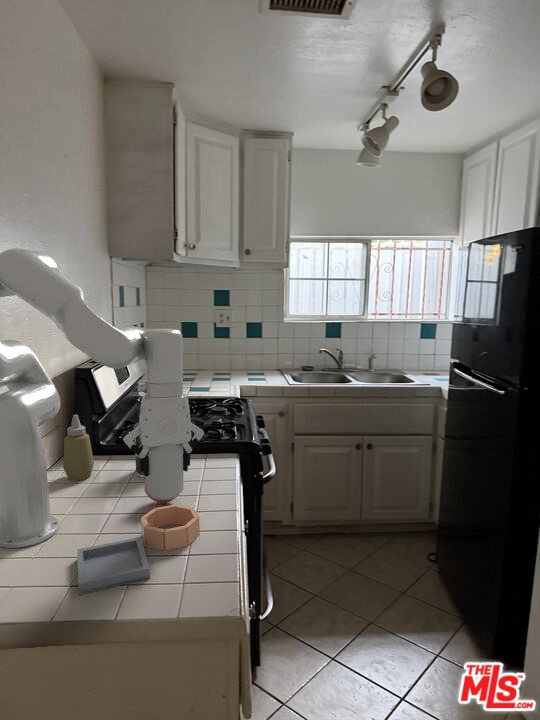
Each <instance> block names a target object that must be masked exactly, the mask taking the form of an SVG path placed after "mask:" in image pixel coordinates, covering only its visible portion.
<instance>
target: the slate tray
mask: <svg viewBox="0 0 540 720" xmlns="http://www.w3.org/2000/svg"><path fill="white" fill-rule="evenodd" d="M144 547H145V546H144V543H143V539H142V536H140V537H133V538H129V539H124V540H123V539H122V540H118V541H113V542H109V543H104V544H103V543H102V544H98V545H93V546H88V547H84V548H83V547H82V548H77V550H76V551H77V583H78V595H79V596H80V595H86V594H89V593H93V592H98V591H102V590H107V589H111V588H115V587H119V586H123V585H124V586H125V585H128V584H132V583H136V582H140V581H141V582H142V581H145V580H149V579H151V574H150V565H149V562H148V558H147V555H146V551H145V548H144Z"/></svg>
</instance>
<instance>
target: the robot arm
mask: <svg viewBox="0 0 540 720" xmlns="http://www.w3.org/2000/svg"><path fill="white" fill-rule="evenodd" d="M12 296H16V297H18V298H19V299H21V300H22V301H24V302H26V303H27V304H29V305H30V306H31V307H33V308H34V309H35V310H38V311H39V312H40V313H41V314H42V315H44V316H46V317H47V318H48V319H50V320H51V321H53V322H54V324H55V326H56V327H57V329H58V330H59V332H60V333H62V335H63V336H64V338H65V339H66V340H67V341H68V342H70V344H71V345H73V347H75V348H76V349H77V350H79V351H80V352H82V353H83V354H85V355H86V356H88V357H89V358H90V359H92V360H94V361H95V362H97V363H99V364H100V365H101V366H104V367H107V368H109V369H115V370H117V369H123V368H126V367H129V366H130V365H132V364H135V363H138V362H142V361H143V362H144V382H143V384H138V385H137V392H138V393H143V394H145V395H143V396H142V397H141V402H140V409H139V418H138V419H139V426H138V427H136V428H135V429H132V430H131V431H130V432H129V433H127V434H126V435H125V436H123V441H124V443H125V445H127V446H128V448H129V449H130V450H131V451H132V452H133V453H134V454H135V453H136V454H137V455H138V456H139V457H140V472H143V474H144V476H145V477H147V476H148V457H147V452H148V451H149V449H150V447H159V446H161V445H162V444H171V443H173V444H174V445H180V444H182V445H183V472H186V473H187V472H188V470H189V467H190V466H191V453H192V451H193V449H195V447H196V446H197V445H198V444H199V442H200V440H201V439H202V437H203V436H204V435H205V432H204V430H203V429H201V428H200V427H198V426H197V425H196V424H194V423H192V421H191V414H190V413H191V411H190V405H189V398H188V395H187V394H185V393H184V381H183V380H184V367H183V366H184V356H183V355H184V353H183V351H184V349H183V347H184V345H183V344H184V343H183V334H182V332H181V331H180V330H179V329H176V328H145V327H139V326H134V325H133V326H131V325H130V326H129V325H128V326H124V327H123V326H122V327H119V328H117V327H115V326H113V325H112V324H110V323H109V322H108V321H106V320H104V319H103V318H102V317H101V316H99V315H97V313H95V312H94V311H93V310H92V309H91V308H90V307H89V306H88V304H87V302H86V301H85V299H84V297H85V295H84V291H83V289H82V288H81V287H80V286H79V285H77V284H76V283H74V282H73V281H72V280H70V279H69V278H67V277H66V276H64V275H63V274H61V273H60V271H59V268H58V265H57V263H56V261H55V260H54V259H53V258H52V257H51V256H49V255H48V254H46V253H45V252H42V251H37V250H31V249H25V248H9V249H5V250H4V251H2V252H0V298H6V297H12ZM5 386H6V388H7V389H8V390H7V391H4V392H2V393H0V548H6V549H17V548H24V547H29V546H33V545H36V544H39V543H42V542H44V541H46V540H48V539H49V538H51V537H53V535H55V534H56V533H57V532H58V530H59V528H60V522H59V520H58V518H56V517H55V516H53V515H51V509H50V507H51V506H50V496H49V495H50V493H49V484H48V481H49V480H48V471H47V470H48V468H47V460H46V459H47V457H46V450H45V445H44V442H43V439H42V437H41V435H40V432H39V427H41V426H42V425H44V424H47V423H48V422H49V421H52V419H54V417H56V416H57V415H58V413H59V411H60V408H61V397H60V394H59V392H58V389H57V388H56V386H55V383H53V381H52V379H51V377H50V376H49V374H48V372H47V370H46V369H45V368H44V366H43V363H42V362H41V361H40V359H39V357H38V356H37V354H36V353H35V352H34V350H33V349H32V348H31V347H30V346H29V345H28V344H26V343H24V342H22V341H19V340H16V339H3V340H0V388H2V387H5ZM192 432H193V433H194V435H193V436H192ZM138 435H139V437H140V440H141V443H142V444H141V446H140V447H139V446H138V445H136V444H135V442H134V439H135V438H136V437H137V436H138Z"/></svg>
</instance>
